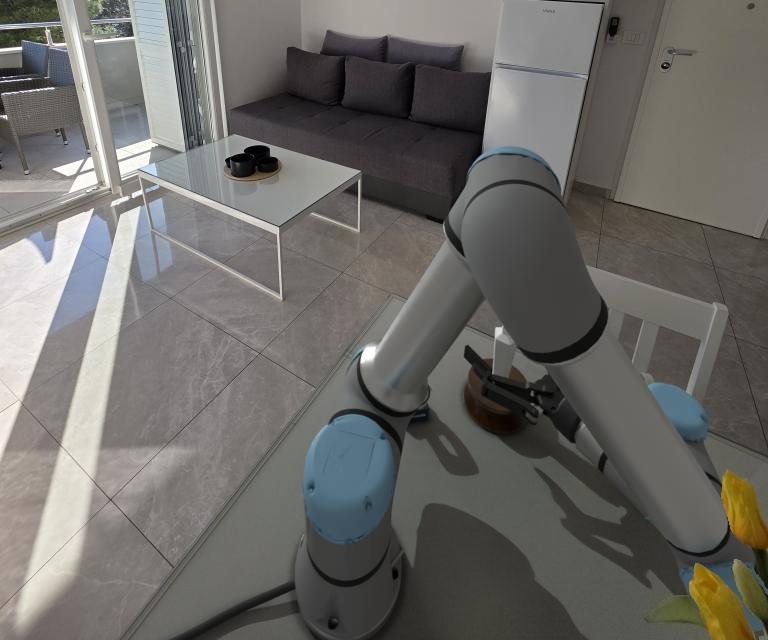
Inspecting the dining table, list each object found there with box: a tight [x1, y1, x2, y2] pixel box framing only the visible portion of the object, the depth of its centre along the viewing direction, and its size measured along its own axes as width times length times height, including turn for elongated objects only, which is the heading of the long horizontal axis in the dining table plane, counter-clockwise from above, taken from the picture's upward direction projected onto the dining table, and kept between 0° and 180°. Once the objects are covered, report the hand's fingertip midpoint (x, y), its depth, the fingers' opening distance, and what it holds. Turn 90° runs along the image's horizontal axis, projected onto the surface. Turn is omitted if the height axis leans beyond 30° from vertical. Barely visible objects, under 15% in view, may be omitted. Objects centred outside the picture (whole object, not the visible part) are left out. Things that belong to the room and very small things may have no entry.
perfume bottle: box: [492, 324, 518, 383], centre depth 84 cm, size 5×4×15 cm
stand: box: [462, 357, 528, 435], centre depth 87 cm, size 13×13×5 cm
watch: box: [408, 383, 433, 425], centre depth 83 cm, size 6×8×11 cm
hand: (490, 336), depth 86 cm, fingers open, 13 cm apart
